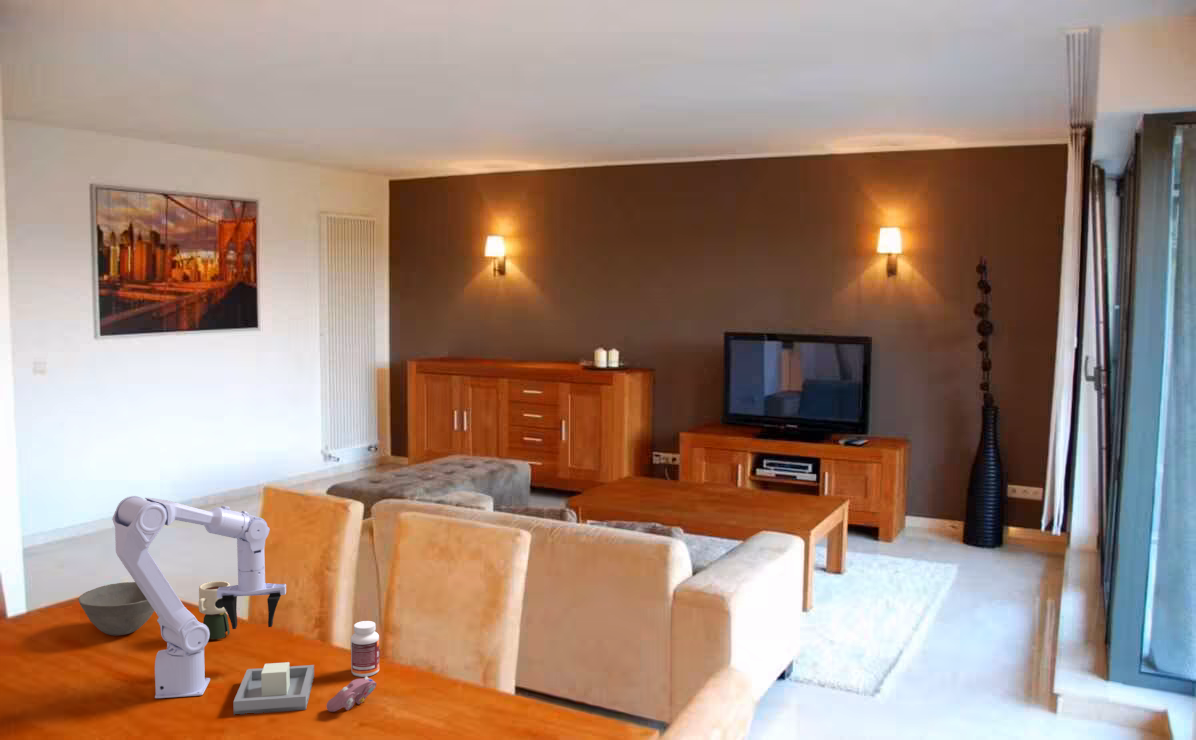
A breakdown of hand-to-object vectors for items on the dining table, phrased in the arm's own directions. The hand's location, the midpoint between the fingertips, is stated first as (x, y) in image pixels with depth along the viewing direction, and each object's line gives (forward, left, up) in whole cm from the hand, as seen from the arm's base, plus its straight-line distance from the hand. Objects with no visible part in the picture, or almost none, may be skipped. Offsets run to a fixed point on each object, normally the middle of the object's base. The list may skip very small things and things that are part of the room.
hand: (252, 626), depth 212 cm
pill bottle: (+25, -7, -10) cm, 28 cm away
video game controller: (+23, -24, -10) cm, 34 cm away
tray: (+7, -16, -9) cm, 20 cm away
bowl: (-35, +27, -10) cm, 45 cm away
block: (+7, -16, -9) cm, 19 cm away
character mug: (-12, +20, -10) cm, 25 cm away
